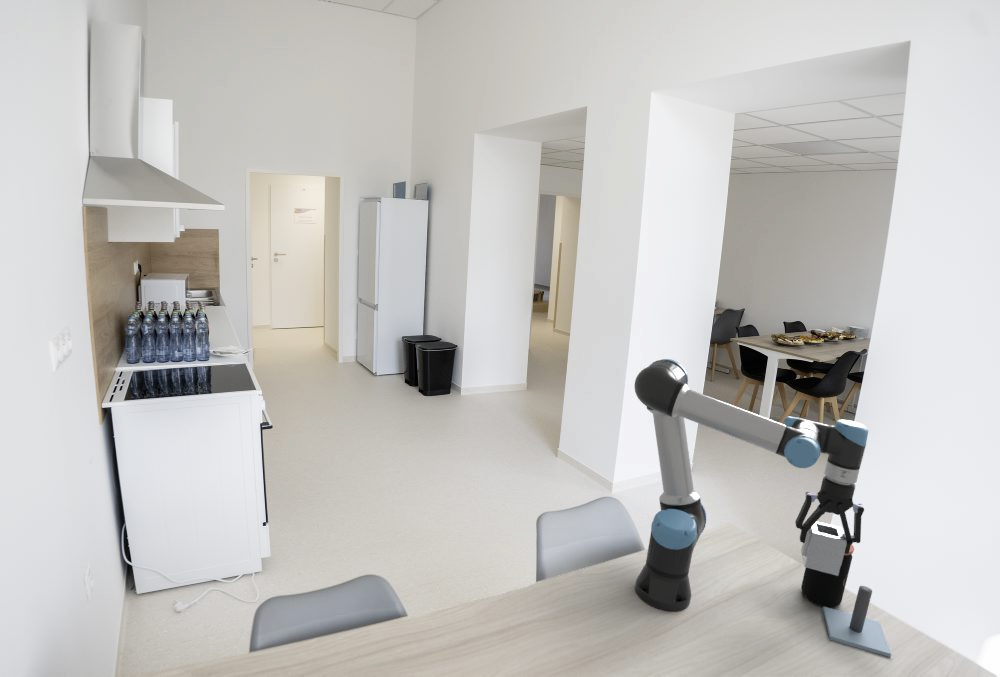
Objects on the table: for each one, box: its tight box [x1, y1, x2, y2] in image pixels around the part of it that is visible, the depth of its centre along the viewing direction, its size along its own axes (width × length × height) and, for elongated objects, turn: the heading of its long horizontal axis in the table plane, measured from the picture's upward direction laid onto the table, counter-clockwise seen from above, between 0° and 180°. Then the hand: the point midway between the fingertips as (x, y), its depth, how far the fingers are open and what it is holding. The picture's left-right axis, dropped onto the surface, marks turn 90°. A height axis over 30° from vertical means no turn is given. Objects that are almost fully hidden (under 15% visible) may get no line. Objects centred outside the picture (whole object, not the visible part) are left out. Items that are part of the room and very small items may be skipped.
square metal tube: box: [801, 520, 847, 576], centre depth 166 cm, size 8×8×10 cm
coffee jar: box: [800, 544, 855, 609], centre depth 180 cm, size 11×11×18 cm
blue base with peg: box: [822, 585, 892, 658], centre depth 166 cm, size 14×14×13 cm
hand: (820, 557), depth 166 cm, fingers closed on square metal tube, 8 cm apart
